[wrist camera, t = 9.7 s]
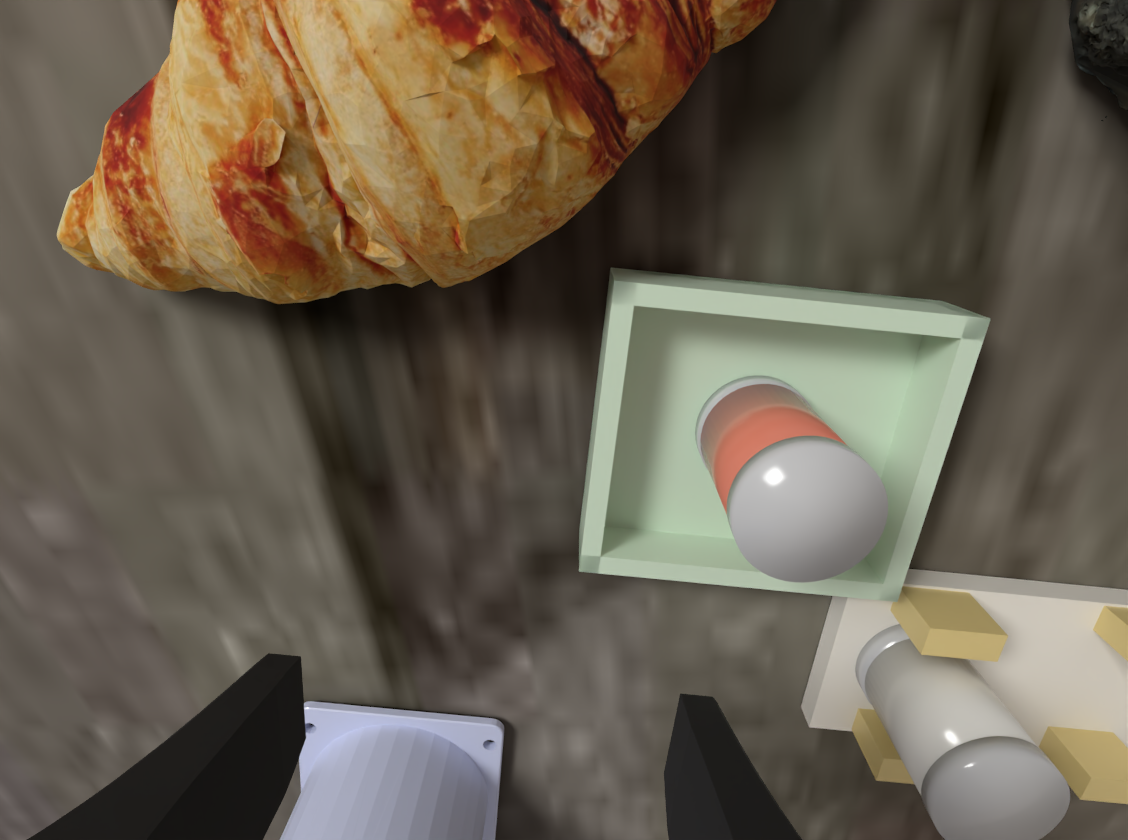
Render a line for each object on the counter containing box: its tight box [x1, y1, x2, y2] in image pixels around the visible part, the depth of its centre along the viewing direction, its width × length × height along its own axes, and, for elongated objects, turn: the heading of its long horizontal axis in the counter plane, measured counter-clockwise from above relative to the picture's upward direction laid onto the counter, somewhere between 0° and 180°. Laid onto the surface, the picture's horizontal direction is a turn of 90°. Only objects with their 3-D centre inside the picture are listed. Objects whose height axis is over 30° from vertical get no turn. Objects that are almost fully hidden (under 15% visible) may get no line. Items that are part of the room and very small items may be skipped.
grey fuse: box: [855, 624, 1070, 840], centre depth 21 cm, size 4×4×6 cm
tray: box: [579, 267, 990, 602], centre depth 20 cm, size 9×10×2 cm
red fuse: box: [695, 375, 888, 583], centre depth 18 cm, size 4×4×6 cm
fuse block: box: [801, 569, 1128, 804], centre depth 23 cm, size 6×20×3 cm, turn 84°
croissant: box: [57, 0, 777, 304], centre depth 16 cm, size 21×10×8 cm, turn 114°
